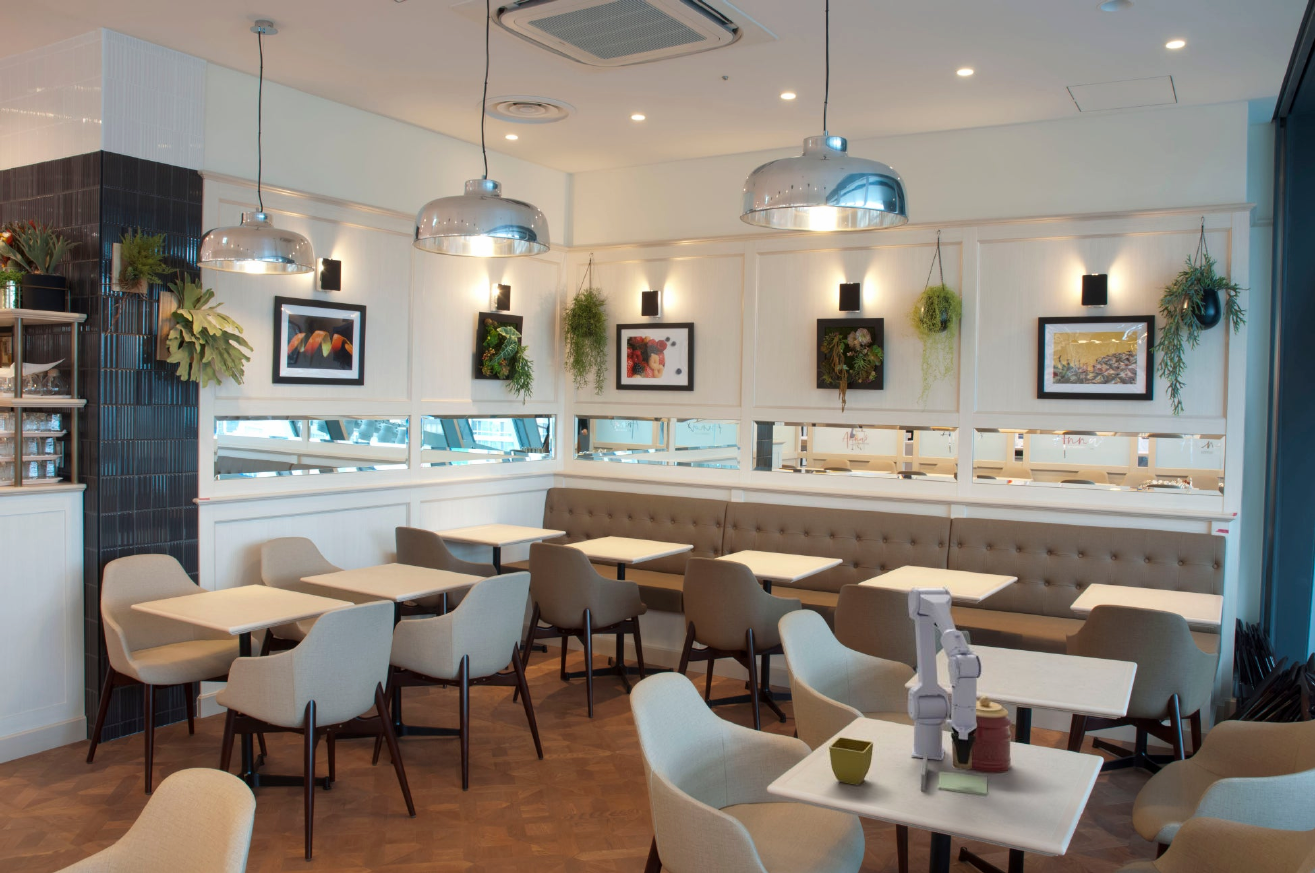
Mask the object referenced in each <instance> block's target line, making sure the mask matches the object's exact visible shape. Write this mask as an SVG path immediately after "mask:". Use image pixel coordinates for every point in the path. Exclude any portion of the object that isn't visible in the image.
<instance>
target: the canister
mask: <svg viewBox="0 0 1315 873" xmlns="http://www.w3.org/2000/svg"><path fill="white" fill-rule="evenodd" d="M1008 714H1009V711H1008V710H1007V709H1006V708H1004V707H1003V706H1002V705H1001V704H999V703H996V702H993V701H991V699H990V698H989V697H988V696H986V695H982V696H980V698H979V700H976V723H977V727H976V731H975V733H974V735H973V736H976V739H975V742H974V743H973V745H972V748H971V754H972V768H970V769H969V770H972V771H976V772H980V773H989V774H994V773H996V774H997V773H1003V772H1007V771H1008V770H1010V767H1011V764H1012V762H1011V761H1012V757H1011V738H1012V733H1011V731H1010V726H1011V724H1012V720H1011V719H1010V717H1008Z"/></svg>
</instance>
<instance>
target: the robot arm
mask: <svg viewBox="0 0 1315 873" xmlns="http://www.w3.org/2000/svg"><path fill="white" fill-rule="evenodd" d="M908 593H909V594H908V596H907V602H908V604H907V605H908V614H909V618H910V619H911V620H914V625H915V626H914V627H915V642H916V643H915V644H916V660H917V661H916V662H917V679H918V682H917V683H916V684H915V685H914V686H912V687H911V688H910V689H908V696H907V697H908V698H907V699H908V700H907V702H906V703H907V705H906V706H907V713H908V716H909V717H910V719H911V720H913V721H914V724H913V726H914V727H913V729H914V730H913V745H912V751H911V757H912V758H917V759H918V758H919V759H920V758H921V759H924V753H928V759H929V760H935V761H936V760H937V761H943V760H944V756H945V747H943V726H944V724H945V723H946V725H949V726H951V731H952V732H951V733H950V737H951V741H952V740H953V742H954V744H955V748H956V753H957V759H958V763H959V764H968V761H969V756H970V751H971V748H972V745H973V743H974V742H975V739H976V736H973V735H974V733H975V731H976V727H977V723H976V701H977V693H978V691H977V689H978V688H977V686H978V685H977V684H978V683H977V679H979V678H980V677H981V675H982V661H981V659H980V657H979V654H977V653H975V651H973V650H971V649H970V647H969V644H968V643H967V641H966V638H965V636H964V633H963V632H962V631H960V630H958V629H957V628H956V624H955V622H954V620H953V617H952V614H951V607H952V595H951V592H950V590H949V589H948V588H947V587H931V588H930V587H925V588H924V587H921V588H920V587H912V588H911V589H910V590H909V592H908ZM935 624H936V626H937V628H938V630H939V631H940V633H941V637H940V644H941V646H942V648H943V650H944V653H945V656H946V658H947V659H948V662H947V672H948V676H949V683H950V684H951V704H950V701H949V696H948V691H947V690H946V688H944V687H942V685H940V684H939V683H938V681H939V680H938V667H937V653H936V650H937V649H936V636H935V635H936V633H935ZM950 714H951V715H950ZM949 717H951V718H950V719H948V718H949Z"/></svg>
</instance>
